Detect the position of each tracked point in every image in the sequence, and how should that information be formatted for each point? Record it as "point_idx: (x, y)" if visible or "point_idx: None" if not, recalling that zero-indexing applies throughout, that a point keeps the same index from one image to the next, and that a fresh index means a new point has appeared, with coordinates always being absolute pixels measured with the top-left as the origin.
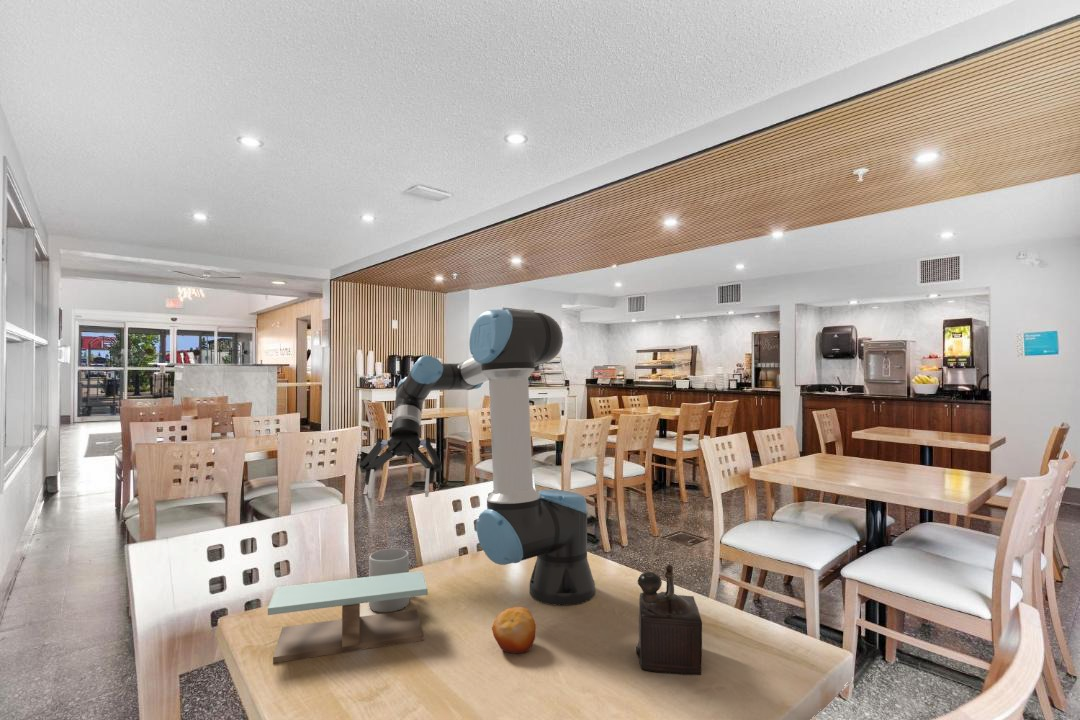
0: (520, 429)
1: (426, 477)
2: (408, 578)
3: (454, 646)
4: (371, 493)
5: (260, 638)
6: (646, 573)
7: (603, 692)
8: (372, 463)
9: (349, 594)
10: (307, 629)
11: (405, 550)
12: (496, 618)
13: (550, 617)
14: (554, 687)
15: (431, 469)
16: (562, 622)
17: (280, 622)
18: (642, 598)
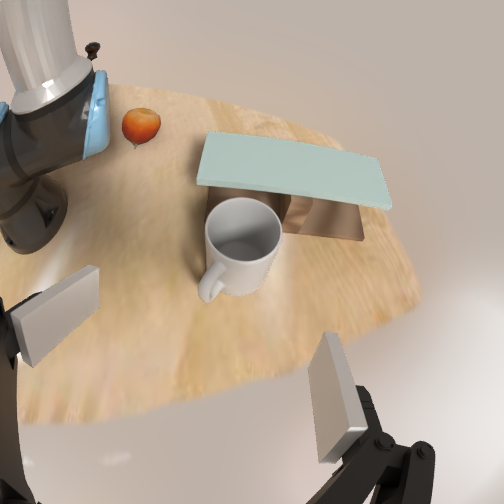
0: None
1: (54, 292)
2: (223, 161)
3: (188, 151)
4: (316, 358)
5: (378, 236)
6: (92, 43)
7: (130, 95)
8: (373, 470)
9: (301, 149)
10: (337, 221)
11: (208, 237)
12: (152, 121)
13: (82, 171)
14: (151, 101)
15: (6, 321)
16: (82, 161)
17: (370, 267)
18: (95, 57)
